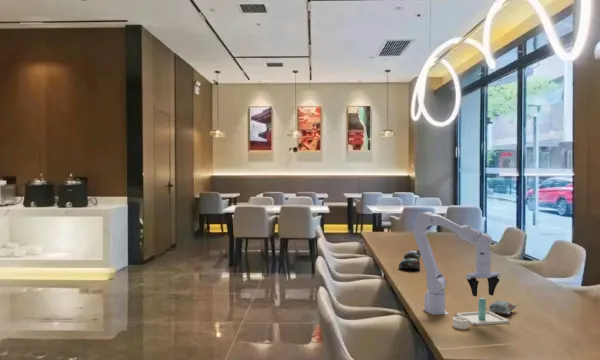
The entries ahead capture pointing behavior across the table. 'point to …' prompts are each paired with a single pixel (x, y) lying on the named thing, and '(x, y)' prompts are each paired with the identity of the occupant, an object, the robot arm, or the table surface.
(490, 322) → the tray
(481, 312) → the dowel
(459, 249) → the table surface
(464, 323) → the bowl
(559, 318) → the table surface
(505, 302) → the packaged food
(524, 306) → the table surface
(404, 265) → the grey stacked sacks
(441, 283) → the robot arm
